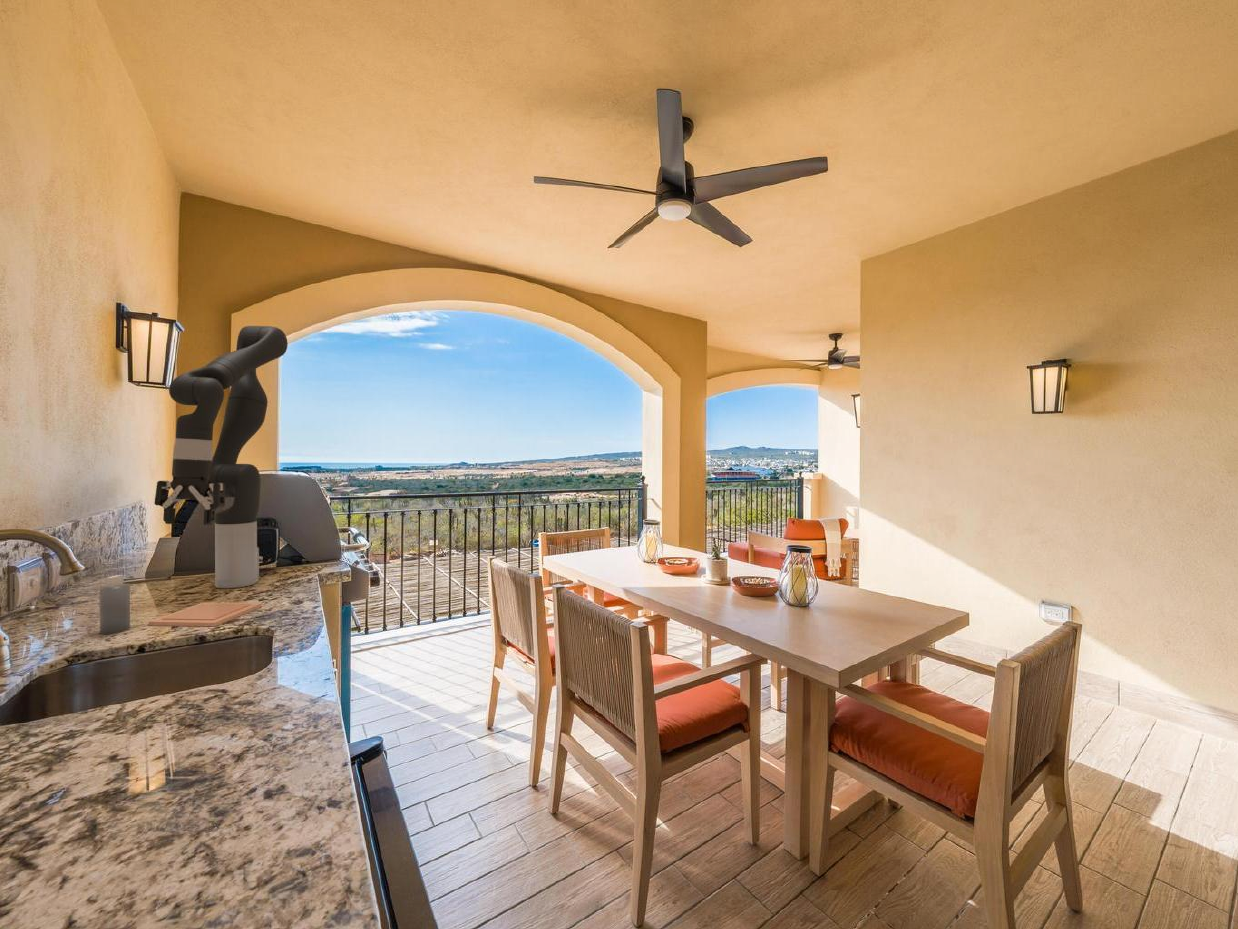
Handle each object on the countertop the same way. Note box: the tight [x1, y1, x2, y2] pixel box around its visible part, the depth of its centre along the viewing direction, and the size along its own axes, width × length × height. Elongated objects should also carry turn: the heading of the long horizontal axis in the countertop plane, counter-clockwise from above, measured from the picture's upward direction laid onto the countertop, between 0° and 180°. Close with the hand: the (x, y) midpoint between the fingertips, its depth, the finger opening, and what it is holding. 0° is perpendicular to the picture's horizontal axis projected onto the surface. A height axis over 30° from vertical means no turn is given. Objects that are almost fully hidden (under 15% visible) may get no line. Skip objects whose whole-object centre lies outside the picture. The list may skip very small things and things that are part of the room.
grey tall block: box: [99, 574, 131, 635], centre depth 105 cm, size 4×4×11 cm
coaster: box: [147, 601, 263, 627], centre depth 115 cm, size 14×14×1 cm
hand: (188, 524), depth 127 cm, fingers open, 8 cm apart
